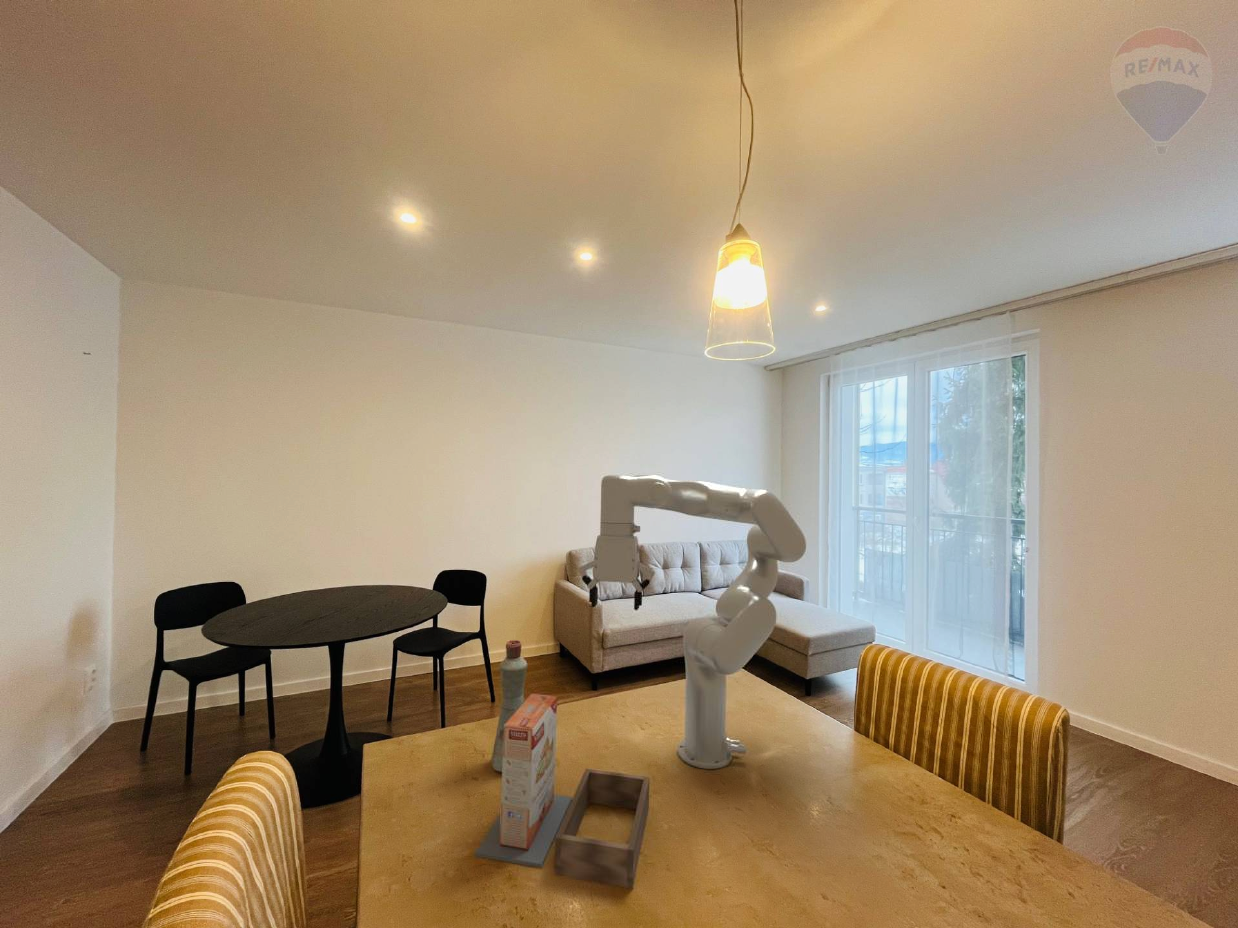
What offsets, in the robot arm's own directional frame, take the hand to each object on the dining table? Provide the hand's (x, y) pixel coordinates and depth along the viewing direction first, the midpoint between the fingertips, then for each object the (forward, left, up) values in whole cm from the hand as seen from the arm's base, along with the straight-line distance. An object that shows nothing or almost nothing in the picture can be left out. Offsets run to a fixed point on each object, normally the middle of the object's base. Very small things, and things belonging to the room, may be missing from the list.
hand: (615, 607), depth 112 cm
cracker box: (+12, +20, -36) cm, 43 cm away
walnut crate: (-3, +20, -36) cm, 42 cm away
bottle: (+23, +2, -36) cm, 43 cm away
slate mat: (+12, +20, -36) cm, 43 cm away
